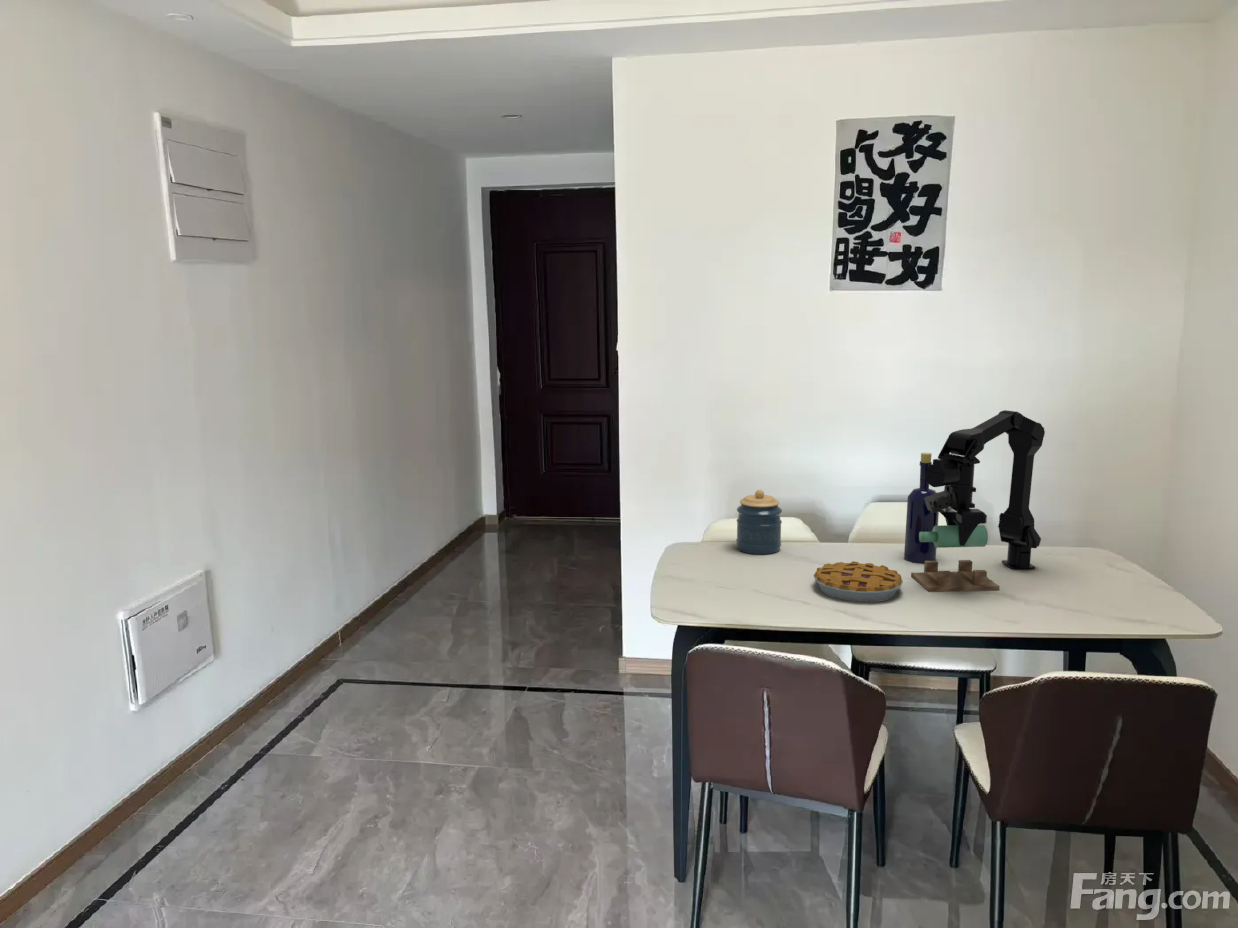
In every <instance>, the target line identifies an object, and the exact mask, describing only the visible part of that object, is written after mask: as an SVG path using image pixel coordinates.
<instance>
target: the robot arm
mask: <svg viewBox="0 0 1238 928" xmlns="http://www.w3.org/2000/svg"><path fill="white" fill-rule="evenodd" d="M1004 433H1006V434H1007V436H1008V439H1007V441H1008V446H1009V447H1010V449H1011V452H1012V453H1013V457H1012V458H1013V459H1012V468H1011V480H1010V488H1009V489H1010V490H1009V499H1008V507H1007V508H1006V509H1005V510H1004V512H1001V513H999V517H998V526H997V528H998V532H999V537H1000V538H999V539H1000V541H1001V542H1002V543H1007V544H1008V545H1007V555H1006V557H1007V558H1006V560H1005V559H1004V560H1003V559H1002V560H1001V563H1002V564H1003V565H1005V566H1007V567H1008V568H1010V569H1012V570H1020V569H1021V570H1025V569H1026V570H1028V569H1029V570H1032V569H1033V570H1035V569H1036V566H1035V565H1034V564H1031V557H1032V549H1037V548H1038V547H1040V544H1041V541H1042V538H1041V536H1040V535H1039V533H1038V532H1037V530H1036V529H1035V517H1034V516H1033V513H1032V512H1031V510H1030V501H1031V491H1032V482H1033V481H1032V479H1033V471H1034V462H1035V461H1034V460H1035V455H1036V454H1037V452H1038V451H1039V450H1040V448H1041V447H1042V446H1043V442H1044V437H1045V433H1046V431H1045V427H1044V426H1043V425H1042V424H1041V423H1040V422H1037V421H1035V420H1033V419H1030V418H1028V417H1026V416H1025V415H1023V414H1022V413H1020V412H1019V411H1017V410H1016V411H1013V410H1007V409H1005V410H1001V411H1000V412H998V414H996V415H994V416H992V417H991V418H989V419H987V420H986V421H983V422H981V423H980V424H978V425H976V426H975V427H971V428H965V429H964V428H963V429H959V430H955V431H952V432H951V433H950V434H949V435H948V437H947V439H946V441H945V443H944V444H943V446H942V448H941V450H940V452H939V454H938V455H937V458H934V459H933V460H932V465H930V466H929V467H928V468H927V470H926V472H925V477H926V480H927V482H928V484H929V486H931V487H932V488H940V487H944V488H943V490H941V491H939V492H937V493H935V494H932V495H930V496H927V497H925V498H924V500H925V503H926V506H927V509H928V510H930V511H931V512H932V513H936V512H939V514H941V515H942V516H943V517H944V519H945V522H946V525H958V532H959V544H960V546H964V545H965V544H966V542H967V540H968V539H969V537H970V536H971V534H972V532H973V531H974V530H975V528H976V527H977V525H985V524H987V520H988V515H987V514H986V513H985V512H984V511H982V510H981V509H979V508H975V507H976V504H975V503H974V502H973V495H974V493H976V492H977V488H976V487H974V477H975V476H974V475H975V465H978V464H980V463H981V460H980V459H979V458H978V457H977V455H978V454H979V453H981V452H982V451H983V450H984V449H985V445H986V444H987V443H988V442H990V441H993V440H994V439H996V438H997V437H999V436H1001V435H1003V434H1004Z"/></svg>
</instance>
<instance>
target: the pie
mask: <svg viewBox="0 0 1238 928" xmlns="http://www.w3.org/2000/svg"><path fill="white" fill-rule="evenodd" d="M813 579H814V580H815V582H816V583H818V586H819V589H820V590H821V592H822V593H823V592H824V593H823V594H825V595H826V596H827V597H832V598H834V597H835V599H839V600H842V601H843V600H844V601H845V600H846V601H851V602H862V603H863V602H865V603H866V602H868V603H870V602H871V603H874V602H881V601H882V602H883V601H887V600H890V599H892V598H893V597H894V596H895V594H896V592H897V591H898V590H899V589H901V587H902V585H903V583H904V581H903V579H902V575H901V574H900V573H899V572H898V571H897V570H893V569H889V567H887V565H886V566H885V565H883V564H881V565H875V564H873V563H870V562H869V563H868V562H867V563H860V562H859V561H853V560H852V561H851V562H843V561H840V562H838V561H837V562H835V563H833V564H831V563H824V564H823V566H822V567H817V568H816V571H815V572H814V574H813Z"/></svg>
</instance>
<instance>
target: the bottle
mask: <svg viewBox="0 0 1238 928" xmlns="http://www.w3.org/2000/svg"><path fill="white" fill-rule="evenodd" d="M932 455H933V454H932V452H921V453H920V461H919V466H920V467H919V468H920V469H919V470H920V471H919V487H917V488H913V489H912V491H911V492H909V494H908V495H907V500H906V503H907V504H906V520H905V535H904V536H905V537H904V538H905V539H904V553H903V554H904V555H903V560H905V561H907V562H910V563H914V564H922V565H925V561H937V551H938V550H937V549H938V548H936V547H935V546H934V544H933V542H920V540H919V533H920V532H932V530H933V528H934V526H939V518H940V517H939V516H940V512H936V513H932V512H931V511H930V510H928V509H927V506H926V503H925V500H924V498H925V497H927V496H930V495H932V494H935V493H938V492H937V491H936V490H935V489H932V488H930V485H929V484H928V482H927V480H926V477H925V472H926V470H927V468H928V467H929V466H930V465H932V464H933V461H932Z"/></svg>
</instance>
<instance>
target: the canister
mask: <svg viewBox="0 0 1238 928" xmlns="http://www.w3.org/2000/svg"><path fill="white" fill-rule="evenodd" d="M739 503H740V505H739V506H737V508H736V511H737V512H738V516H737V519H736V526H737V528H736V542H735V543H736V544H735V545H736V547H737V549H738V551H740V552H743V553H745V554H751V555H771V554H775V553H777V552H779V551H780V550H781V546H782V540H781V539H782V537H781V535H782V523H783V521H782V520H781V514H782V512H783V509H782V508H781V507H779V504H780V501H779V500H778V499H776V498H775V497H774V496H772V495H768V494H765V492H764V491H763V490H762V489H757V490H755V492H754V494H749V495H746V496H744V498H741V499H740V500H739Z"/></svg>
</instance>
